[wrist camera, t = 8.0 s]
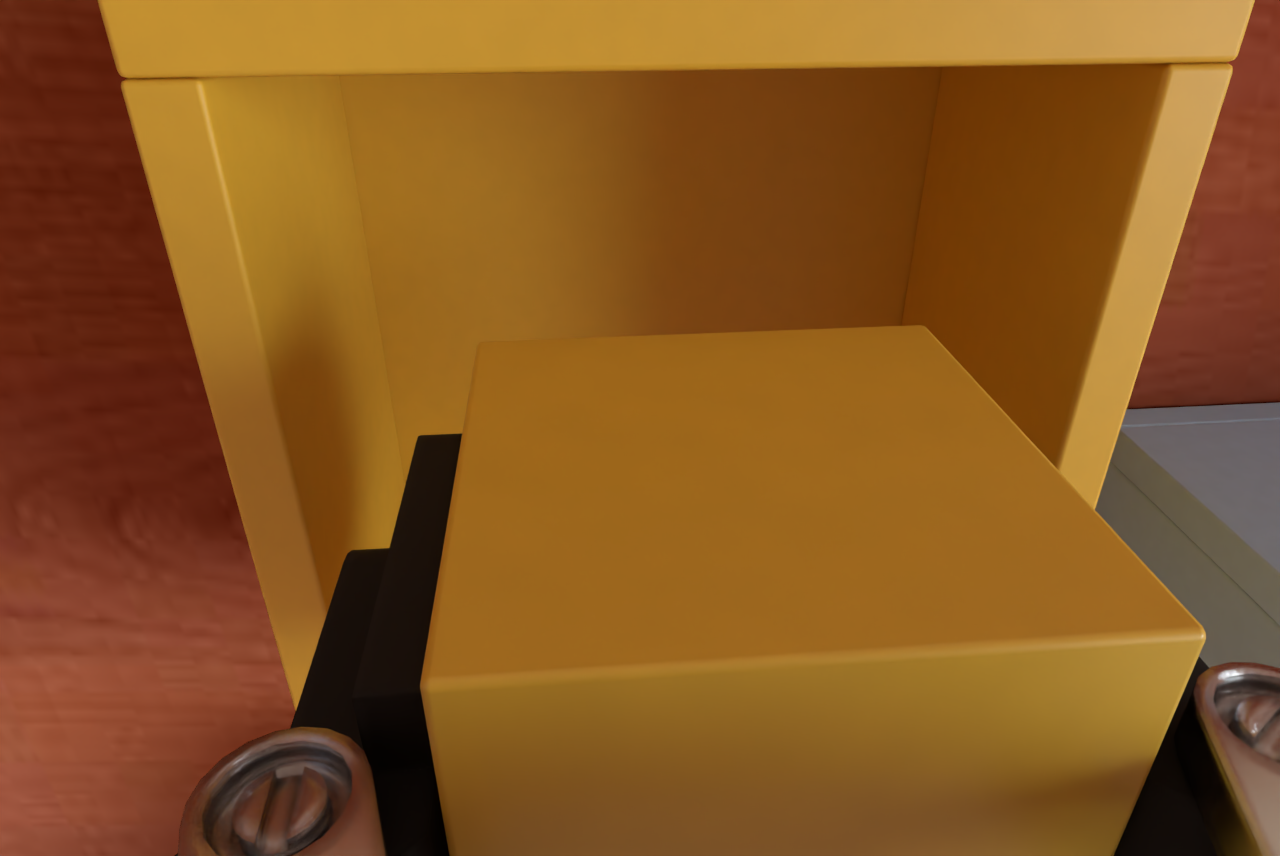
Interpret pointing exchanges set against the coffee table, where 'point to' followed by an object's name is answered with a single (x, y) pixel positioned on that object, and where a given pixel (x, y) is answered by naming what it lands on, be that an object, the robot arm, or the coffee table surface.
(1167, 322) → the coffee table surface
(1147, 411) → the blue bin
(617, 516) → the mustard block
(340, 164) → the mustard bin
